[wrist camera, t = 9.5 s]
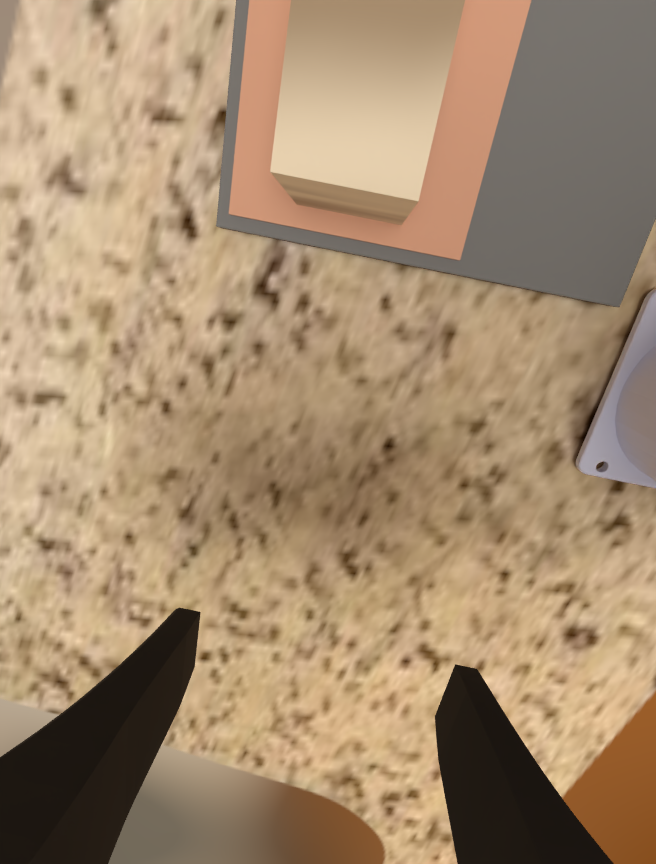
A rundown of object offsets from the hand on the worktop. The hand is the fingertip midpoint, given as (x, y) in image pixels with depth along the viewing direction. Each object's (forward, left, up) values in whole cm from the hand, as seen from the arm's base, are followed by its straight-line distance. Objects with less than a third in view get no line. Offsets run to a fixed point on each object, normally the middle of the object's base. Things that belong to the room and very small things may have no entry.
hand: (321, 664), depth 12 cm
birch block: (+2, -16, -9) cm, 18 cm away
